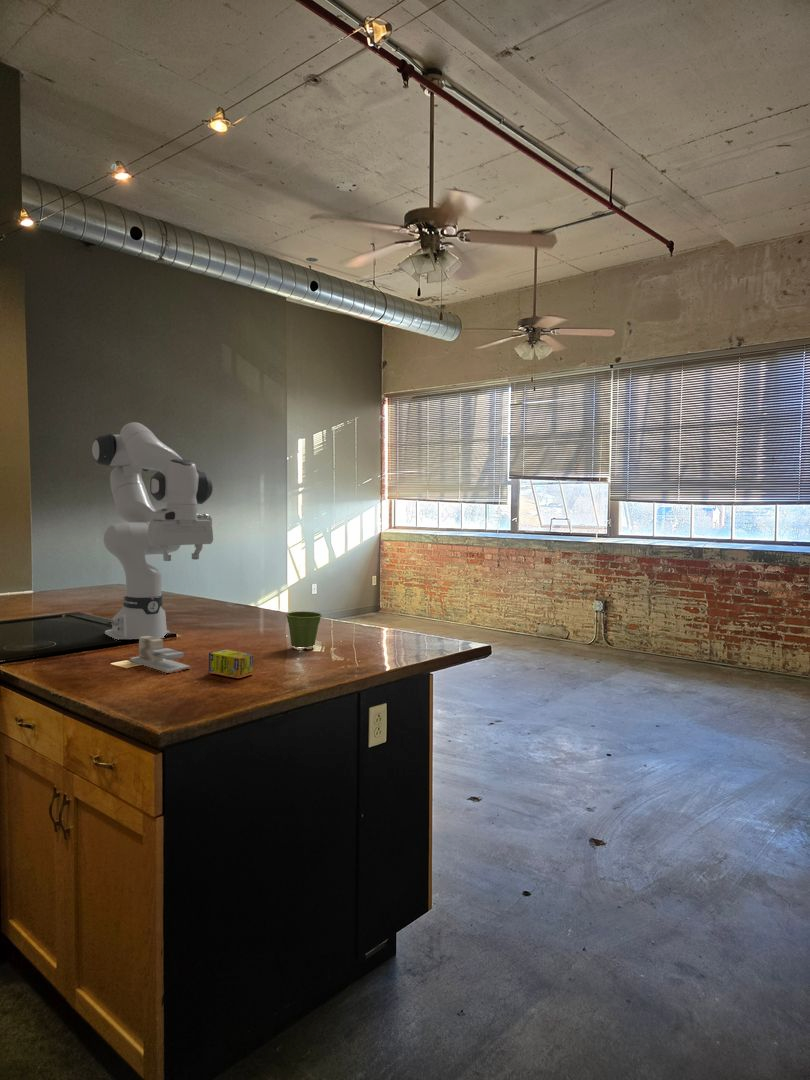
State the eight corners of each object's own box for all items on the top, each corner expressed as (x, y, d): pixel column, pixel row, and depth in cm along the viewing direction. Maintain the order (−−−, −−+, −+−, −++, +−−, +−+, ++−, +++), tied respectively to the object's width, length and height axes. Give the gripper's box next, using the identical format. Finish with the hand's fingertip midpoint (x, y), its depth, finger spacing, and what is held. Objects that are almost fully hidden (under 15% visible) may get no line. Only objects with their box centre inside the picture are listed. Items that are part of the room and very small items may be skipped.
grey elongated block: (135, 658, 200) (135, 637, 200) (151, 655, 204) (151, 635, 203) (167, 668, 189) (167, 646, 189) (183, 665, 193) (184, 644, 193)
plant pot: (318, 653, 217) (319, 617, 217) (281, 652, 218) (282, 616, 217) (324, 645, 229) (324, 611, 228) (288, 644, 229) (289, 610, 229)
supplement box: (208, 652, 188) (238, 658, 183) (223, 648, 193) (253, 653, 188) (207, 674, 188) (238, 680, 183) (223, 669, 194) (253, 675, 188)
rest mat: (129, 661, 200) (129, 657, 200) (152, 657, 205) (152, 654, 205) (167, 674, 187) (167, 670, 187) (190, 669, 193) (190, 666, 192)
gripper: (205, 513, 215) (205, 557, 216) (145, 513, 200) (144, 560, 201) (217, 514, 211) (217, 559, 212) (156, 514, 196) (156, 562, 197)
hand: (181, 560), depth 206 cm, fingers open, 8 cm apart
